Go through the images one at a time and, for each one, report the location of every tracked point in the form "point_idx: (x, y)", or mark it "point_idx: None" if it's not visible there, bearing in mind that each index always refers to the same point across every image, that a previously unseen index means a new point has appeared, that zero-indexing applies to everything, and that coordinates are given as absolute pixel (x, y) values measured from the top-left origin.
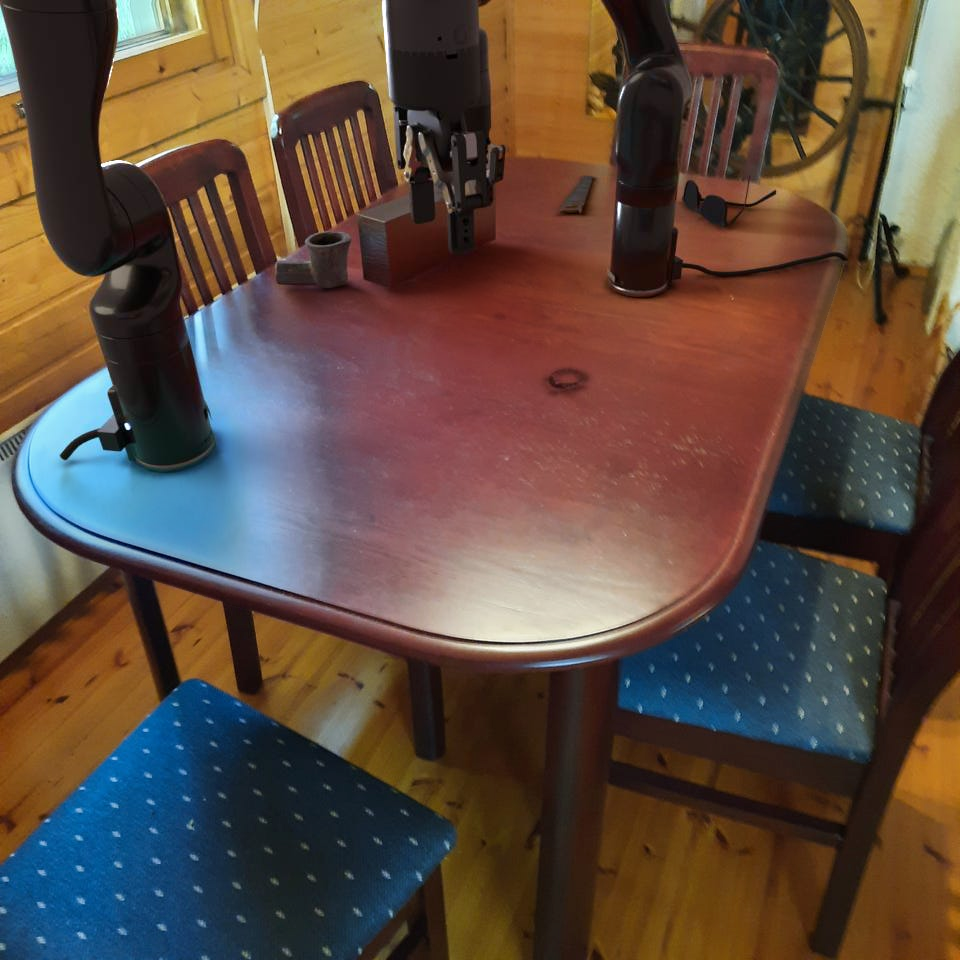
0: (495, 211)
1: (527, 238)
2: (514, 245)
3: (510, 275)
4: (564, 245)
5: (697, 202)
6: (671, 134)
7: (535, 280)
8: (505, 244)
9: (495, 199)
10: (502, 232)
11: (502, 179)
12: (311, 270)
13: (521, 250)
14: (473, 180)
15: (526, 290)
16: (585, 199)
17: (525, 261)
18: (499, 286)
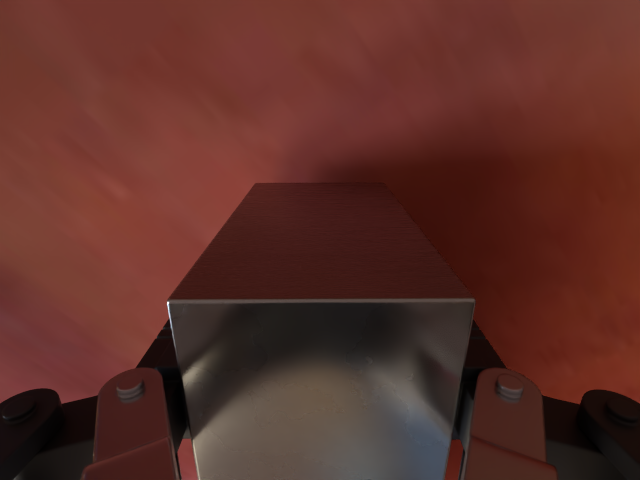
0: (409, 215)
1: (439, 34)
2: (432, 130)
3: (539, 320)
4: (613, 2)
5: None
6: None
7: (620, 308)
8: (399, 142)
9: (425, 235)
10: (314, 43)
11: (631, 403)
12: None
13: (479, 153)
14: (361, 425)
15: (619, 363)
16: None
17: (535, 221)
18: (543, 381)
